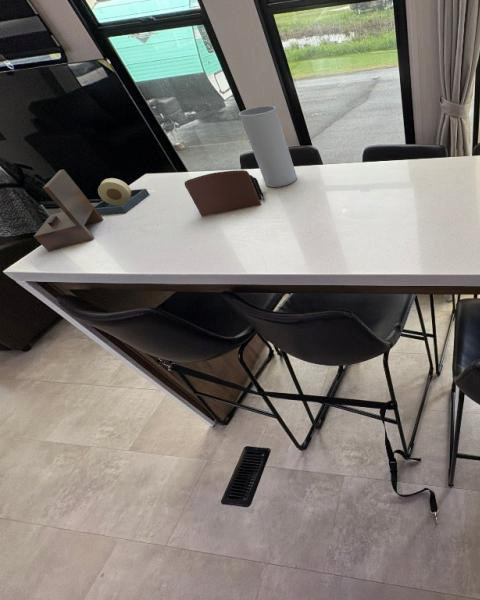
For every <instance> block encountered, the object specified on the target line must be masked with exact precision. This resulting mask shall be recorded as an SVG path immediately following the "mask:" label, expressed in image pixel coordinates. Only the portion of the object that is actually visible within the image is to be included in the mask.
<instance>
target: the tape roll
mask: <svg viewBox="0 0 480 600" xmlns="http://www.w3.org/2000/svg"><path fill="white" fill-rule="evenodd" d="M131 190H132V189H131V187H130V186H129V185H128V184H127V183H126V182H125V181H123V180H121V179H118V178H114V177H110V178H105V179H103V180H102V181H101V182H100V185H98V188H97V193H98V196H99V197H100V199H101V201H103V200H104V201H105V202H106V203H108V204H111V205H115V206H121V205H123V204H124V203H125V202H127V201H128V200H129V199H130V197H131Z"/></svg>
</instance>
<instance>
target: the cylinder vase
mask: <svg viewBox="0 0 480 600" xmlns="http://www.w3.org/2000/svg"><path fill="white" fill-rule="evenodd" d="M238 116H239V118H240V121H241V124H242V127H243V129H244V131H245V134H246V136H247V140H248V142H249V144H250V147H251V150H252V152H253V155H254V158H255V160H256V163H257V166H258V168H259V171H260V174H261V176H262V179H263V181H264V184H265V185H266V186H267V187H269V188H280V187H286V186H289V185H291V184H293V183H295V181H296V180H297V177H298V176H297V172H296V169H295V166H294V163H293V159H292V156H291V153H290V150H289V147H288V143H287V140H286V137H285V134H284V129H283V126H282V124H281V121H280V117H279V114H278V111H277V107H276V106H274V105H264V106H263V105H262V106H256V107H251V108H248V109H244V110H242V111H240V112H239V113H238Z"/></svg>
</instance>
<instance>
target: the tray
mask: <svg viewBox="0 0 480 600" xmlns="http://www.w3.org/2000/svg"><path fill="white" fill-rule="evenodd" d="M149 196H150V193H149V191H148V190H147V188H138V189H131V197H130V199H129V200H128V201H127V202H125V203H124V204H123V205H121V206H115V205H111V204H108V203H106V202H105V201H104V200H101V201H99V202H98V203H97V204H95V205H93V206H94V208H95V209H96V210H97V211H98V213H99V214H100V215H101V216H106V215H107V216H108V215H117V214H126V213H128V212H129V211H131V210H132V209H133V208H134V207H136V206H137V205H138V204H139V203H141V202H142V201H143V200H145V199H146V198H147V197H149Z"/></svg>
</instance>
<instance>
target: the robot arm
mask: <svg viewBox="0 0 480 600" xmlns="http://www.w3.org/2000/svg"><path fill="white" fill-rule="evenodd" d="M7 140H8V137H7V136H6V135H5V134H4V132H2V130H1V129H0V142H2V141H7Z"/></svg>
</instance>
